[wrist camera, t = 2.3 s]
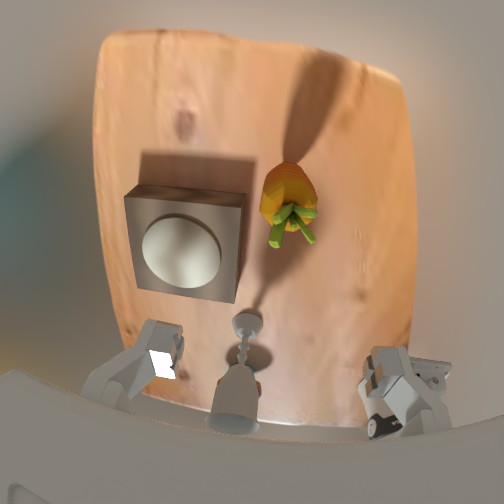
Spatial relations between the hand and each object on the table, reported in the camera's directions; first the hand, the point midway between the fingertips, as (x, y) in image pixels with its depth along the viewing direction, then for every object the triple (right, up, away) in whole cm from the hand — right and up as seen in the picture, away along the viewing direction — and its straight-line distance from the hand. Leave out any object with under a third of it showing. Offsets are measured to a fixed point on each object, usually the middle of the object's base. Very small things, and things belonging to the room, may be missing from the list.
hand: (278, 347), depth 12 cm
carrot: (+3, +14, +21) cm, 25 cm away
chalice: (-2, -8, +35) cm, 36 cm away
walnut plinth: (-9, +6, +27) cm, 29 cm away
